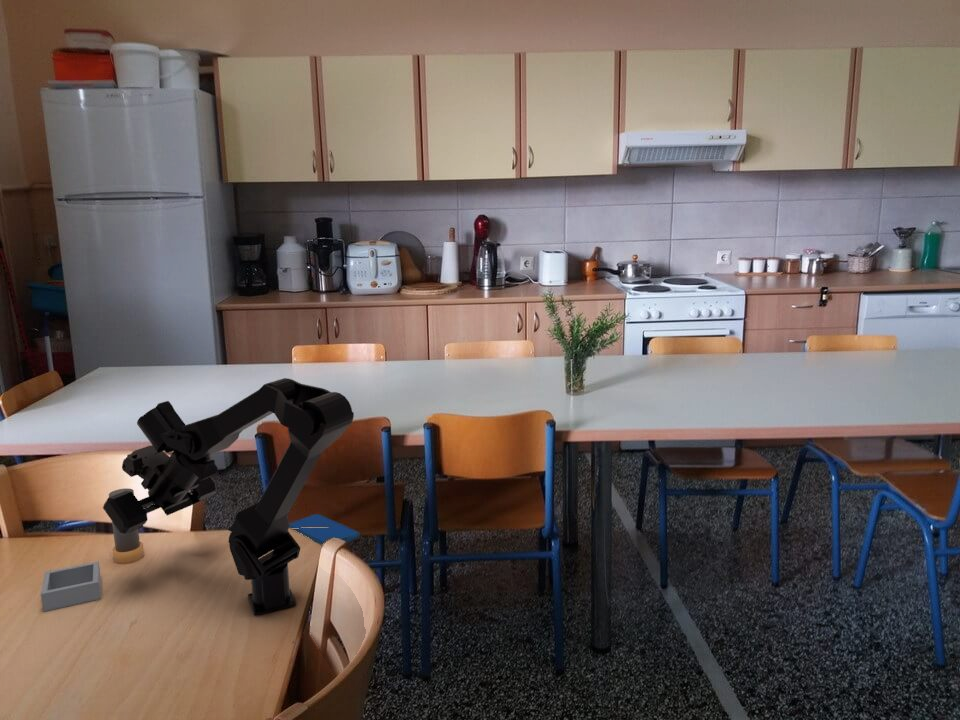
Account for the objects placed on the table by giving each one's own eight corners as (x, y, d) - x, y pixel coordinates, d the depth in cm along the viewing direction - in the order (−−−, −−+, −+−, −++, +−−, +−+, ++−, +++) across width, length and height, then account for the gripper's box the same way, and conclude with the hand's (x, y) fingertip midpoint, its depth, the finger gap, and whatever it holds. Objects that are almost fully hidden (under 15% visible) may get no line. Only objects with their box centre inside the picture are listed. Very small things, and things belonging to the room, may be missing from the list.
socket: (100, 599, 119) (98, 582, 118) (43, 611, 116) (40, 594, 115) (100, 577, 126) (98, 561, 125) (47, 588, 123) (44, 572, 122)
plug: (138, 563, 131) (130, 497, 128) (109, 564, 131) (100, 498, 128) (148, 550, 136) (140, 486, 133) (120, 551, 136) (112, 488, 133)
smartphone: (317, 513, 150) (361, 533, 140) (317, 517, 151) (362, 537, 140) (285, 524, 145) (329, 546, 135) (285, 529, 145) (329, 551, 135)
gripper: (198, 420, 131) (163, 470, 139) (102, 451, 115) (68, 506, 123) (234, 468, 129) (196, 516, 137) (142, 506, 113) (105, 559, 121)
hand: (144, 522), depth 129 cm, fingers open, 9 cm apart
